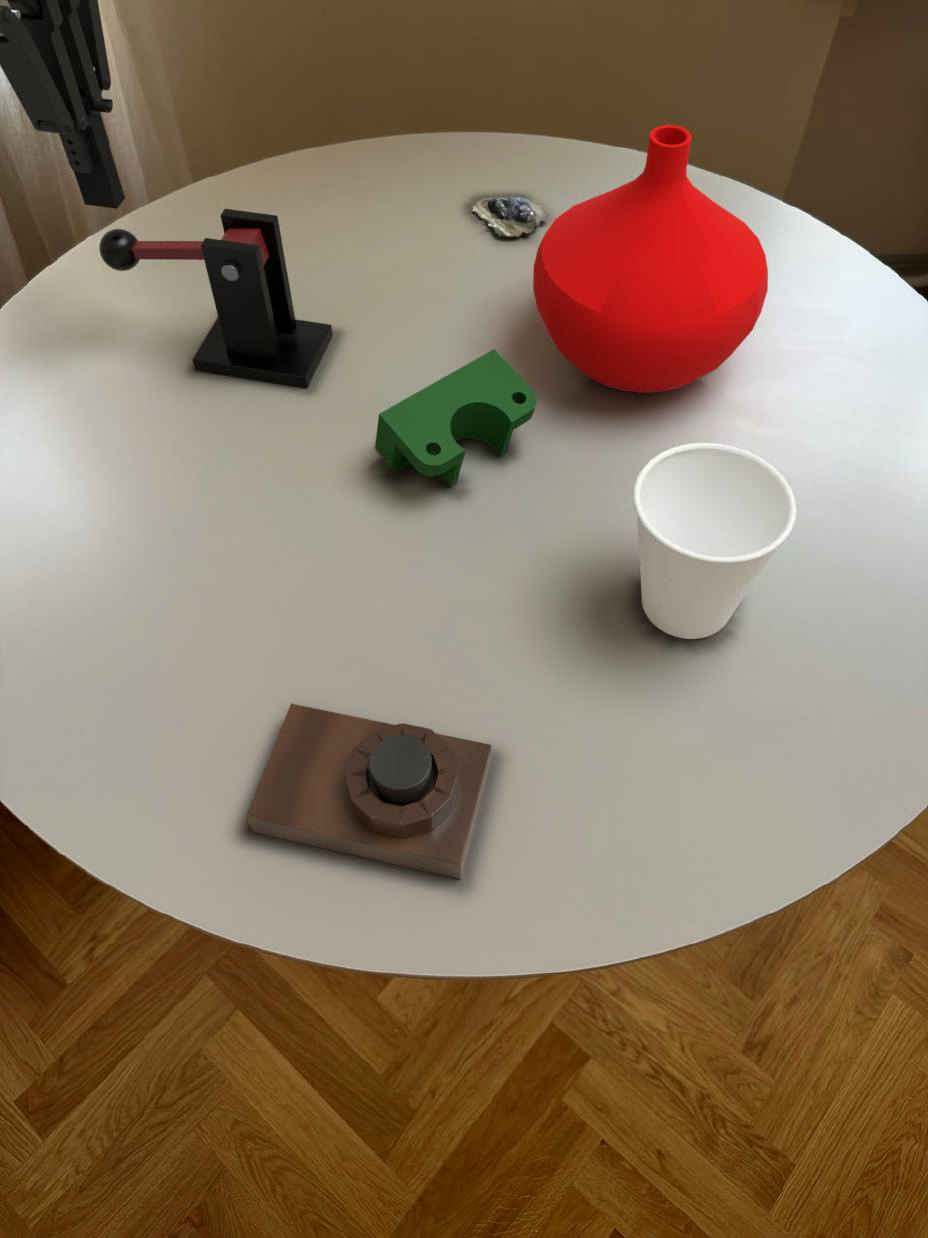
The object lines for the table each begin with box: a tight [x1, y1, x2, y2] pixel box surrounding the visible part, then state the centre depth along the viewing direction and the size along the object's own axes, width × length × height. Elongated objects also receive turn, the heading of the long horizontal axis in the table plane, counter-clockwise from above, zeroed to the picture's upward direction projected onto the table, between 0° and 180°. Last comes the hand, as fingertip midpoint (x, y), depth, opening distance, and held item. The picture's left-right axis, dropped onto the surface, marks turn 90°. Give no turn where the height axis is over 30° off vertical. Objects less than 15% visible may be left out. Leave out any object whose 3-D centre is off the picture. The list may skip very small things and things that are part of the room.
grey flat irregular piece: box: [471, 196, 551, 238], centre depth 99 cm, size 7×8×2 cm
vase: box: [532, 124, 769, 394], centre depth 81 cm, size 18×18×19 cm
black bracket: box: [192, 208, 334, 389], centre depth 84 cm, size 10×7×12 cm
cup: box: [632, 442, 797, 640], centre depth 68 cm, size 10×10×11 cm
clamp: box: [374, 348, 538, 488], centre depth 79 cm, size 12×6×9 cm, turn 124°
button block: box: [246, 703, 492, 880], centre depth 62 cm, size 13×8×4 cm, turn 76°
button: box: [369, 734, 433, 803], centre depth 60 cm, size 4×4×2 cm
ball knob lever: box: [98, 228, 269, 272], centre depth 82 cm, size 14×3×3 cm, turn 76°
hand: (105, 200), depth 80 cm, fingers closed
